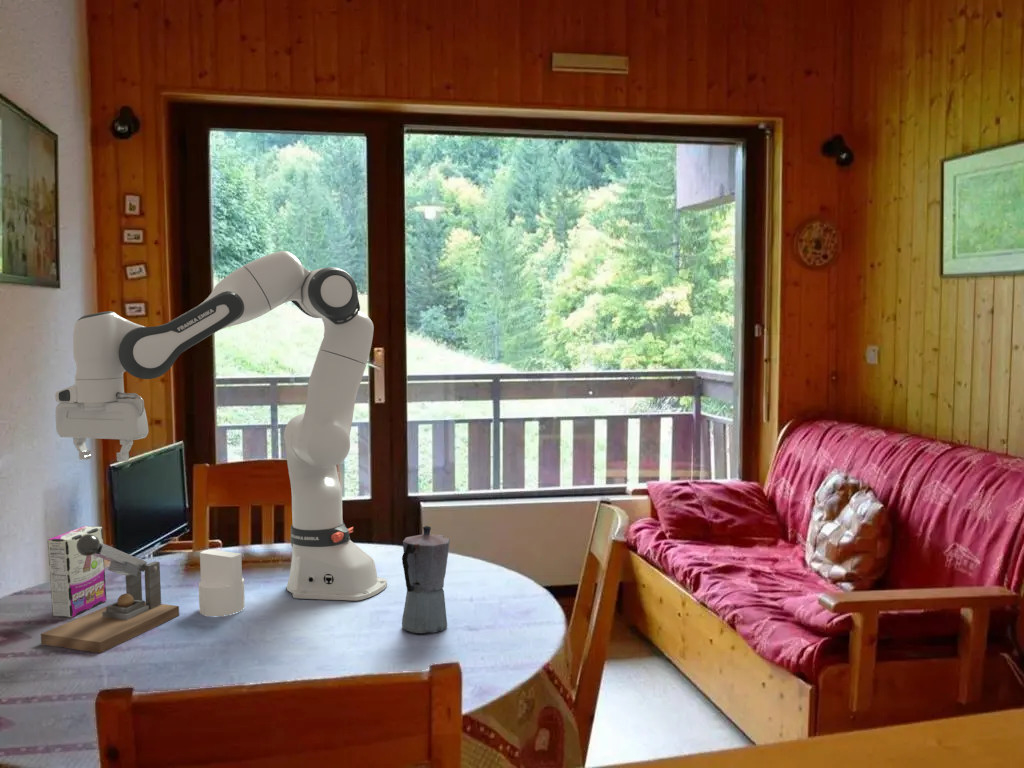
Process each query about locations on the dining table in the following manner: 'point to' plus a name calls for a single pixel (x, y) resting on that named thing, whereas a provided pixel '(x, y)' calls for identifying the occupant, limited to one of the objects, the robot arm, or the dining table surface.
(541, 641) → the dining table surface
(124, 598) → the nut
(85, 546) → the lever
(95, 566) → the candy bar box
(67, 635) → the nutcracker bench
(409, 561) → the moka pot
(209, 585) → the white stepped block
